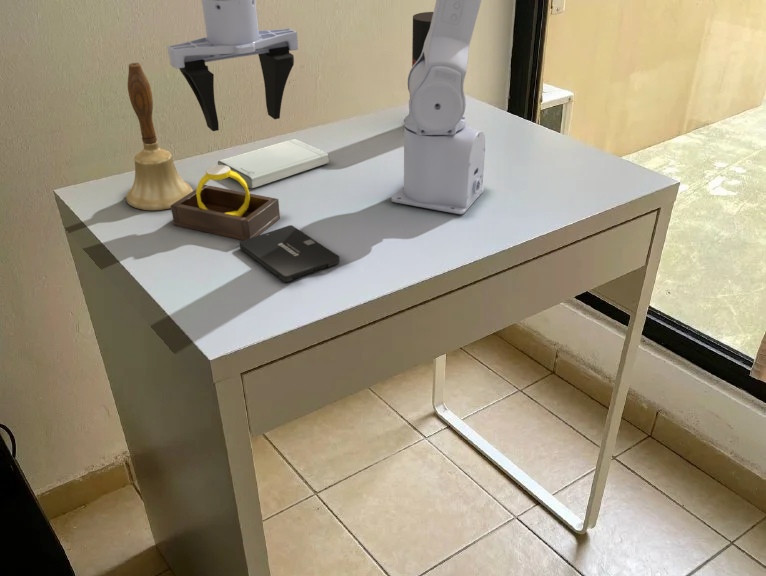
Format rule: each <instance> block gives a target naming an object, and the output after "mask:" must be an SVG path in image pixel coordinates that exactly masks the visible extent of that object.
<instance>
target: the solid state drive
mask: <svg viewBox="0 0 766 576" xmlns="http://www.w3.org/2000/svg"><path fill="white" fill-rule="evenodd" d="M238 244H239V248H240V250H242V251H243V252H244V253H246V254H247V255H248V256H250V257H251V258H252V259H253V260H255V261H256V262H257V263H259V264H260V265H261V266H262V267H264V268H266V269H267V270H268V271H270V272H271V274H274V275H275V276H276V277H277V278H279V279H280V280H282V281H283V282H285V283H288V282H292V281H294V279H295V278H298V277H301V276H303V275H306V274H309V273H314V272H317V270H320V269H323V268H330V267H333V266H335V265H338V264H339V263H340V261H341V260H340V256H339V255H338V254H336V253H335V252H334V251H332V250H331V249H329V248H327V247H326V246H324V245H323V244H321V243H320V242H318V241H317V240H316V239H314V238H312V237H311V236H310V235H308V234H306V233H304V232H303V231H302V230H300V229H298V228H297V227H296V226H294V225H286V226H284V227H280V228H277V229H274V230H270V231H267V232H265V233H263V234H262V233H261V234H260V235H258V236H256V237H252V238H249V239H246V240H240V241H239V242H238Z"/></svg>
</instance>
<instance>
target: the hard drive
mask: <svg viewBox="0 0 766 576" xmlns="http://www.w3.org/2000/svg"><path fill="white" fill-rule="evenodd" d="M329 156H330V155H329V153H327V152H326V151H323V150H322V149H319V148H317V147H315V146H312V145H311V144H307V143H306V142H303V141H301V140H299V139H296V138H292V139H288V140H284V141H282V142H278V143H274V144H271V145H268V146H265V147H261V148H257V149H254V150H251V151H247V152H244V153H241V154H238V155H234V156H230V157H227V158H223V159H219V160H218V161H217V165H226V166H228V167H230V169H231V171H234V172H236V173H237V174H239V175H240V176H241V177H242V178H243V179H244V180H245V181H246V183H247V186H248V189H254V188H258V187H261V186H264V185H267V184H270V183H273V182H275V181H278V180H282V179H286V178H287V177H291V176H294V175H296V174H299V173H303V172H306V171H308V170H311V169H314V168H317V167H321V166H323V165H328V164H329V163H330V159H329ZM234 180H235V181H237V180H236V179H234Z"/></svg>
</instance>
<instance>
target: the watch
mask: <svg viewBox="0 0 766 576" xmlns="http://www.w3.org/2000/svg"><path fill="white" fill-rule="evenodd" d="M228 178H231V179H233V180H235V179H236V180H235V181H237V182H238V183H239V184H240V185H241V186H242V187H243V189H244V192H245V193H246V197H245V201H244V204H243V205H242V206H241V207H240V209H239V210H238V211H233V212H227V213H225V214H230V215H235V216H240V217H241V216H242V215H243V214H244V213H245V211H246V210H247V208H248V206H249V201H250V194H251V193H250V190H249V187H248V186H247V183H246V181H245V180H244V179H243V178H242V177H241V176H240V175H239V174H237V173H236V172H234V171H231V169H230V167H228V166H226V165H218V164H217V165H213V166H209V167H208V168H207V169H206V170H205V174H204V175H203V176H202V177H201V178H200V179H199V181H198V183H197V187H196V189H195V190H196V195H197V201H198V206H199V208H201V209H206V210H208V209H207V208H206V207H205V205H204V204H203V203H202V201H201V197H200V193H201V190H202V187H203V185H206V183H208V182H210V181H211V180H212V181H221V180H225V179H228ZM249 193H250V194H249Z"/></svg>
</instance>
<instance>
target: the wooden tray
mask: <svg viewBox="0 0 766 576" xmlns="http://www.w3.org/2000/svg"><path fill="white" fill-rule="evenodd" d="M249 194H250V201H249V206H248V208H247V210H246V211H245V213H244V214H243V215H242V216H241V217H240V216H235V215H230V214H225V213H227V212H233V211H238V210H239V209H240V207H241V206H242V205H243V204H244V201H245V197H246V193H245V191H241V190H240V191H239V190H234V189H230V188H229V189H228V188H223V187H219V186H215V185H209V184H204V185H203V187H202V190H201V193H200V197H201V201H202V203H203V204H204V205H205V207H206V208H207V209H208V210H206V209H201V208H199V206H198V201H197V195H196V189H193V192H191V193H189V194H188V195H186V196H185V197H183V198H182V199H180V200H178V201H177V202H175V203H174V204H172V205H171V208H170V210H171V216H172V221H173V225H174V226H177V227H180V228H185V229H190V230H195V231H199V232H205V233H208V234H209V233H210V234H214V235H217V236H222V237H227V238H231V239H235V240H240V241H243V240H246V239H249V238H252V237H256V236H259V235H262V233H263V232H265V231H267V229H269V228H270V227H271V226H272V225H274V224H275V223H277V221H279V220H281V213H280V212H281V211H280V201H279V198H276V197H270V196H266V195H265V196H264V195H261V194H255V193H250V192H249Z"/></svg>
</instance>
